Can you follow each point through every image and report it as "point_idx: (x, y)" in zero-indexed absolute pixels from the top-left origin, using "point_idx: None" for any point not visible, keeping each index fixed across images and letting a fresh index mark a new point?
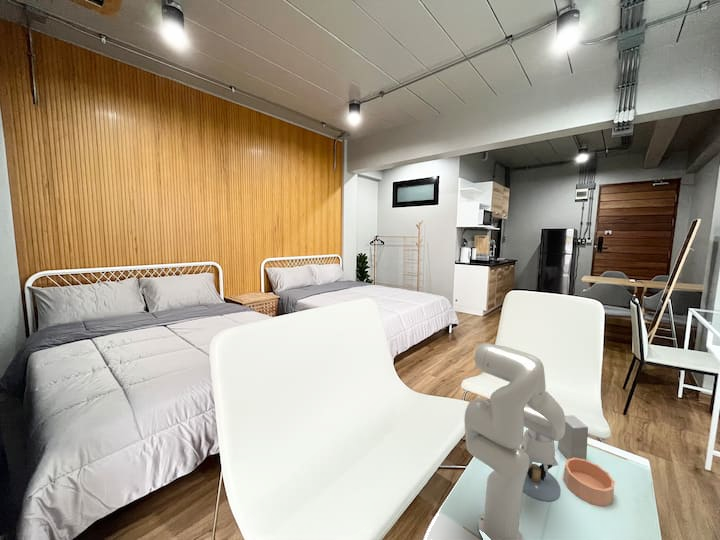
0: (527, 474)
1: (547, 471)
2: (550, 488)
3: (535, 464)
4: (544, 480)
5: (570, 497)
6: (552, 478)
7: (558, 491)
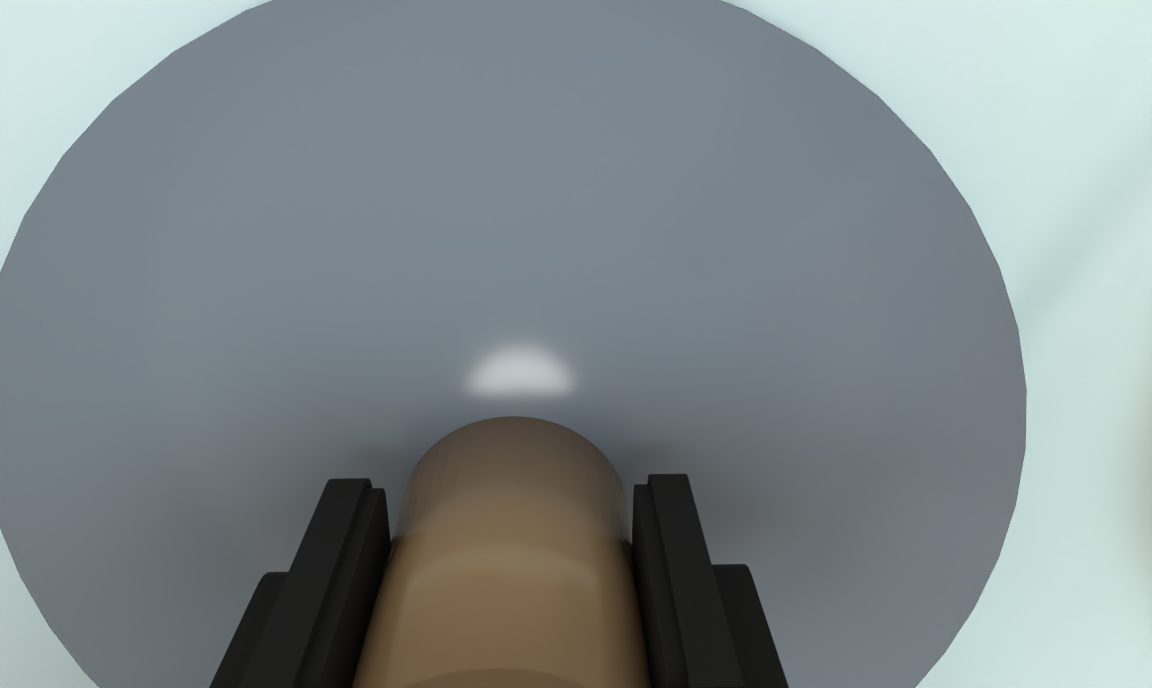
0: (376, 424)
1: (951, 185)
2: None
3: (518, 683)
4: (729, 489)
5: (1061, 649)
6: (955, 387)
7: (893, 674)
